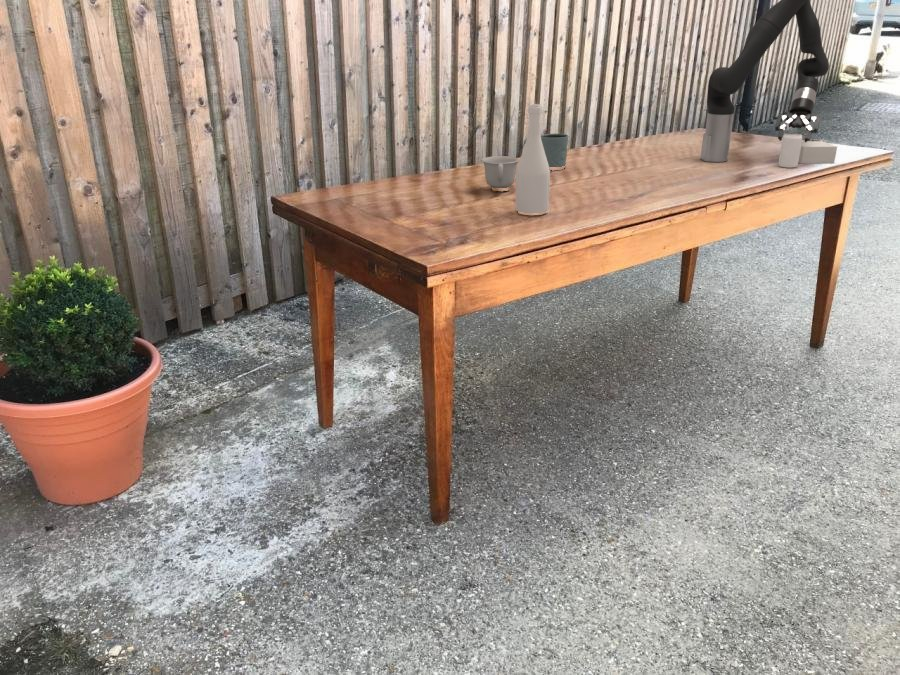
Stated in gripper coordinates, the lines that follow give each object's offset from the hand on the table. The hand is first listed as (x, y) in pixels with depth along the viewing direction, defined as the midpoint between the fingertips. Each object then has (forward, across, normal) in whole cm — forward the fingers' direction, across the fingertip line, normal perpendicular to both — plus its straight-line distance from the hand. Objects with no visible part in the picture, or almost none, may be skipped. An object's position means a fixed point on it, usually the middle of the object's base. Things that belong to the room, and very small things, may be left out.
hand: (793, 140), depth 260 cm
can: (+8, 0, +5) cm, 10 cm away
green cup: (+37, -75, -24) cm, 87 cm away
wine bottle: (+80, -54, -68) cm, 118 cm away
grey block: (-3, +6, +16) cm, 17 cm away
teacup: (+66, -75, -54) cm, 113 cm away
